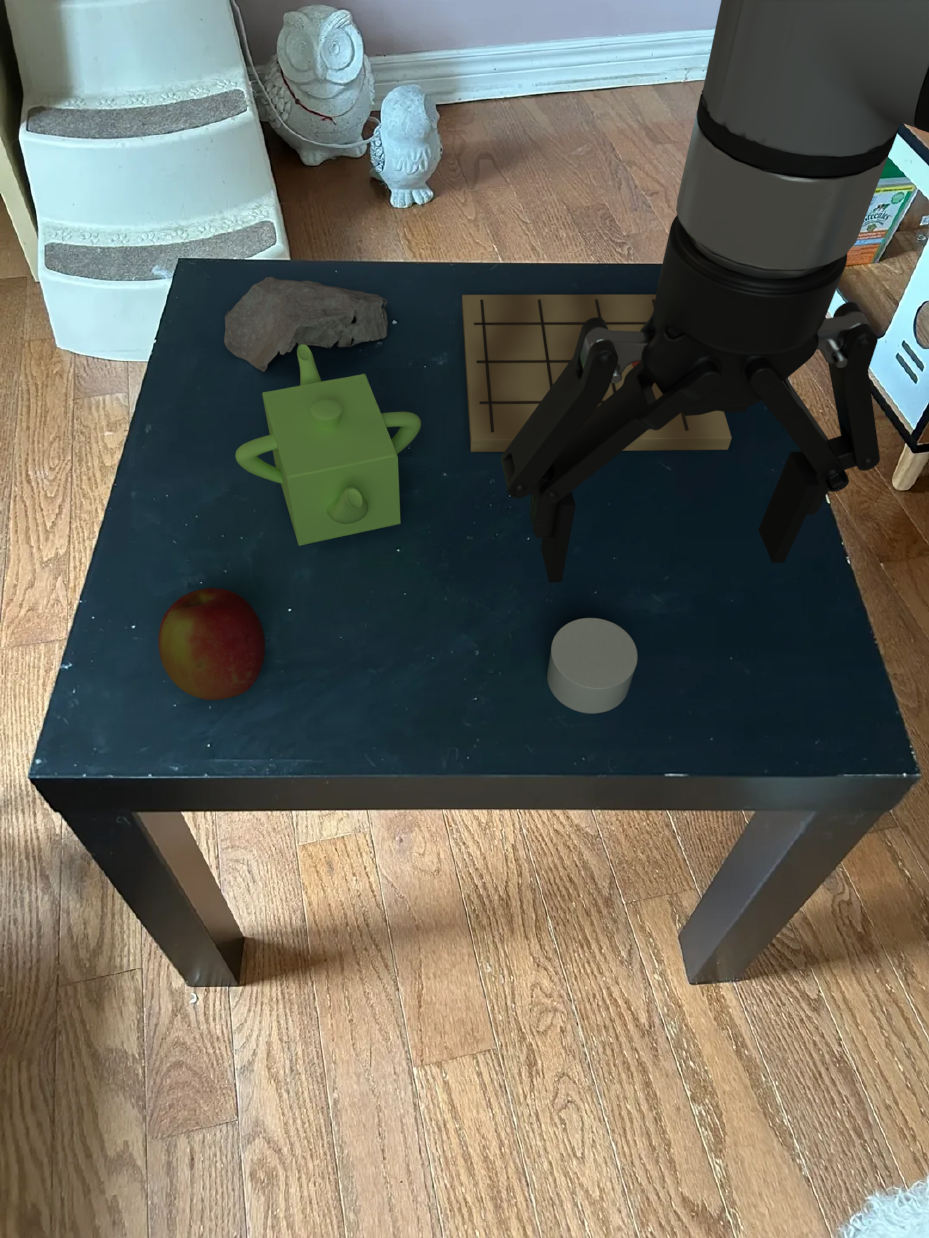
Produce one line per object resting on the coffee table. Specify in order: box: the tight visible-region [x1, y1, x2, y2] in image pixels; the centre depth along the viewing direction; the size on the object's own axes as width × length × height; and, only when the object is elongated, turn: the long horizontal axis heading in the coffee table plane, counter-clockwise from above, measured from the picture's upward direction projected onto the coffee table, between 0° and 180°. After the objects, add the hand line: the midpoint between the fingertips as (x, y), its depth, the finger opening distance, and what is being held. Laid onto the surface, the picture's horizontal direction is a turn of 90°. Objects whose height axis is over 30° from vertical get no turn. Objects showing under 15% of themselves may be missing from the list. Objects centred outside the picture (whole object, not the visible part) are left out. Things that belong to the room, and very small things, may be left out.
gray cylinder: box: [546, 617, 639, 715], centre depth 73 cm, size 6×6×4 cm
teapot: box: [235, 345, 422, 546], centre depth 80 cm, size 15×13×11 cm
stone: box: [223, 276, 389, 373], centre depth 96 cm, size 15×8×15 cm
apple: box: [157, 587, 266, 701], centre depth 70 cm, size 8×8×8 cm
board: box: [461, 293, 732, 453], centre depth 95 cm, size 24×22×2 cm
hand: (662, 555), depth 58 cm, fingers open, 13 cm apart
